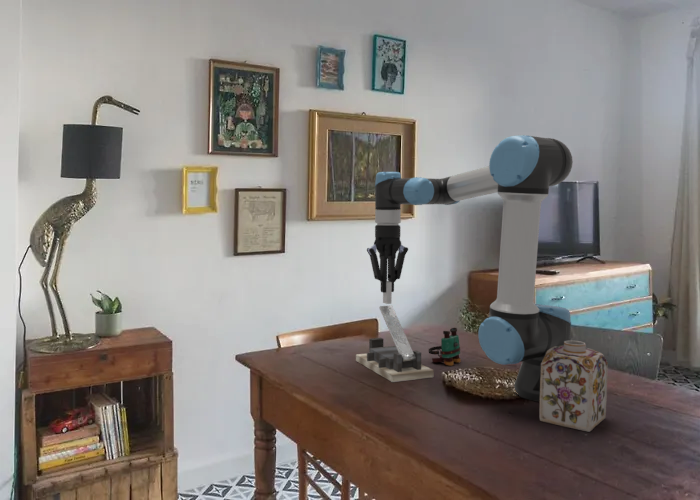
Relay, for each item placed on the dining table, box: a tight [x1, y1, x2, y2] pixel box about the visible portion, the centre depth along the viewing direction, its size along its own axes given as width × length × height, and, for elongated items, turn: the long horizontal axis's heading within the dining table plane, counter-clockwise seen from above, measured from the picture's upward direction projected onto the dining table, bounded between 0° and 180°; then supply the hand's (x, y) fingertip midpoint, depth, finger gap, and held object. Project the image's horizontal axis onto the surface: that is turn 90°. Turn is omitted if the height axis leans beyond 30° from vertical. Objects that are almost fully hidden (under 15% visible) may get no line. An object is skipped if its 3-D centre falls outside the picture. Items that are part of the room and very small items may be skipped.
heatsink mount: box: [355, 337, 435, 383], centre depth 187 cm, size 25×13×7 cm, turn 23°
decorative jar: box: [538, 340, 609, 433], centre depth 143 cm, size 12×12×18 cm
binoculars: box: [428, 327, 462, 367], centre depth 195 cm, size 9×11×10 cm
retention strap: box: [379, 304, 416, 361], centre depth 184 cm, size 20×4×2 cm
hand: (387, 303), depth 190 cm, fingers closed
